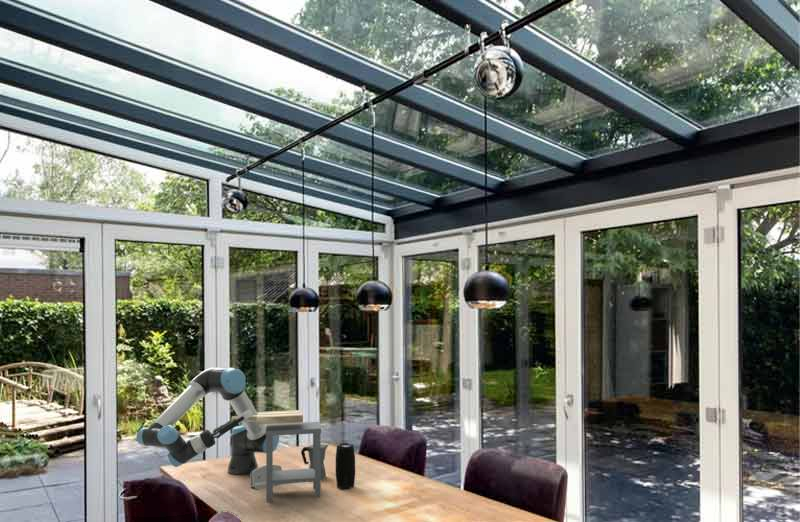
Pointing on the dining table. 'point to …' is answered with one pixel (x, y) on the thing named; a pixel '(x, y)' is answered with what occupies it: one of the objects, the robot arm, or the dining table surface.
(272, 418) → the cutting board
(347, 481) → the portable speaker
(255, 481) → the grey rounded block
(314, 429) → the side table
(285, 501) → the dining table surface
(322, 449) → the coffeepot
